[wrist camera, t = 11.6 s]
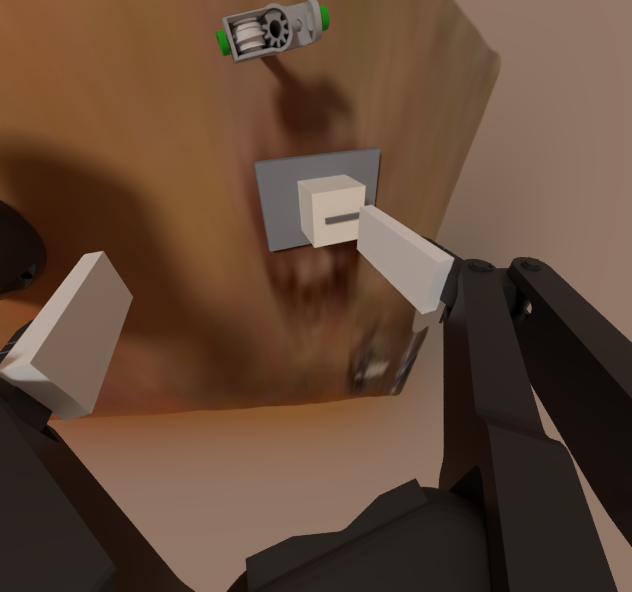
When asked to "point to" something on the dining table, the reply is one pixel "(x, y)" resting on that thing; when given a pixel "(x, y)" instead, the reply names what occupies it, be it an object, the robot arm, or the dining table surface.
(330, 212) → the cream slotted box
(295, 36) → the mechanical component
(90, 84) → the dining table surface
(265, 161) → the board
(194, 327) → the dining table surface
